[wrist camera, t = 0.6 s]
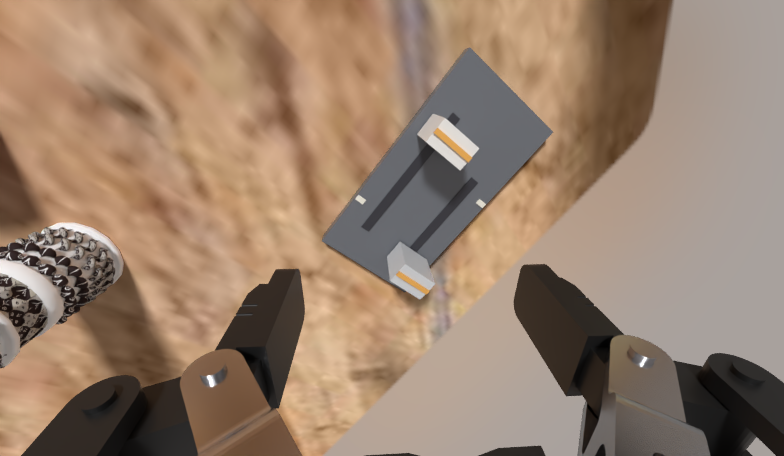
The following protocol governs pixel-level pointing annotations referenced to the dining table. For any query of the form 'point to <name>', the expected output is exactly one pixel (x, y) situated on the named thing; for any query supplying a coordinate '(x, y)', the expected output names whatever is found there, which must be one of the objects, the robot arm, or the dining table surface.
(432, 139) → the white fader
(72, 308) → the decorative candle
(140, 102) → the dining table surface
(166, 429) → the robot arm
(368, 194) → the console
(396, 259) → the grey fader
